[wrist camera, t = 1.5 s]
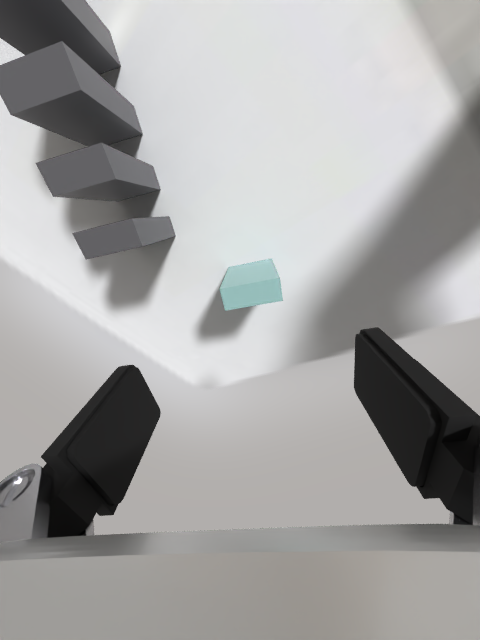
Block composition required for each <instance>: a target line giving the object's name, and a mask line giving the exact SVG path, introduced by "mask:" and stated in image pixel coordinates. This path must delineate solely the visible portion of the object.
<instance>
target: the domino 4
mask: <svg viewBox="0 0 480 640" xmlns="http://www.w3.org/2000/svg"><path fill="white" fill-rule="evenodd" d="M72 234H73V236H74V237H75V239H76V241H77V243H78V245H79V247H80V249H81V251H82V253H83V255H84V257H85V259H90V258H94V257H99V256H103V255H107V254H112V253H116V252H120V251H125V250H129V249H133V248H138V247H142V246H146V245H149V244H152V243H155V242H158V241H161V240H165V239H168V238H171V237H174V236H175V233H174V229H173V226H172V223H171V220H170V217H169V216H168V217H148V218H131V219H127V220H123V221H119V222H115V223H111V224H107V225H103V226H99V227H95V228H91V229H87V230H83V231H79V232H76V233H72Z"/></svg>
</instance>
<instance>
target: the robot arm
mask: <svg viewBox="0 0 480 640" xmlns="http://www.w3.org/2000/svg"><path fill="white" fill-rule="evenodd" d="M354 388H355V392H356V394H357V396H358V398H359V399H360V401H361V403H362V404H363V406H364V408H365V410H366V411H367V413H368V415H369V417H370V418H371V420H372V422H373V423H374V425H375V427H376V428H377V430H378V432H379V434H380V435H381V437H382V439H383V440H384V442H385V444H386V445H387V447H388V449H389V451H390V452H391V454H392V456H393V457H394V459H395V461H396V462H397V464H398V466H399V468H400V469H401V471H402V473H403V474H404V476H405V478H406V479H407V481H408V482H409V484H410V485H411V486H414V487H415V486H417V488H418V490H419V491H420V493H421V494H422V496H423V498H424V499H428V498H440V499H441V501H442V502H443V504H444V505H445V507H446V508H447V509H448V510H450V520H449V524H400V525H398V524H397V525H349V526H318V527H288V528H260V529H233V530H207V531H182V532H159V533H158V532H157V533H136V534H112V535H94V526H93V518H94V516H95V514H96V513H98V514H99V515H100V516H103V515H114V512H115V510H116V508H117V506H118V504H119V503H120V502H121V501H122V500H123V498H124V496H125V494H126V491H127V489H128V487H129V485H130V483H131V480H132V478H133V476H134V474H135V472H136V469H137V467H138V465H139V463H140V460H141V458H142V456H143V454H144V451H145V449H146V447H147V445H148V442H149V440H150V438H151V436H152V433H153V431H154V429H155V427H156V424H157V422H158V420H159V418H160V408H159V406H158V405H157V403H156V401H155V399H154V397H153V395H152V393H151V391H150V389H149V387H148V385H147V383H146V382H145V380H144V378H143V376H142V374H141V372H140V370H139V369H138V368H136V367H135V366H134V365H127V366H121V367H118V368H117V369H116V370H115V371H114V373H113V374H112V375H111V376H110V377H109V378H108V379H107V381H106V382H105V383H104V384H103V385H102V386H101V387H100V389H99V390H98V391H97V392H96V393H95V394H94V396H93V397H92V398H91V399H90V400H89V401H88V403H87V404H86V405H85V406H84V407H83V408H82V409H81V411H80V412H79V413H78V414H77V415H76V416H75V418H74V419H73V420H72V421H71V422H70V423H69V425H68V426H67V427H66V428H65V429H64V430H63V432H62V433H61V434H60V435H59V436H58V437H57V438H56V440H55V441H54V442H53V443H52V444H51V446H50V447H49V448H48V449H47V450H46V451H45V452H44V454H43V455H42V456H41V458H42V459H44V461H45V462H46V463H47V464H46V465H45V466H44V468H42V467H41V466H40V465H38V464H30V465H27V466H24V467H22V468H20V469H18V470H16V471H15V472H13V473H12V474H10V475H9V476H7V477H6V478H5V479H4V480H2V481H1V482H0V640H480V416H479V415H478V414H477V413H476V412H474V411H473V410H472V409H471V408H470V407H469V406H468V405H467V404H465V403H464V402H463V401H462V400H461V399H460V398H459V397H457V396H456V395H455V394H454V393H453V392H452V391H451V390H450V389H448V388H447V387H446V386H445V385H444V384H443V383H442V382H440V381H439V380H438V379H437V378H436V377H435V376H434V375H432V374H431V373H430V372H429V371H428V370H427V369H426V368H425V367H423V366H422V365H421V364H420V363H419V362H418V361H416V360H415V359H413V358H412V357H411V356H410V355H409V354H408V353H407V352H405V351H404V350H403V349H402V348H401V347H400V346H399V345H398V344H396V343H395V342H394V341H393V340H392V339H391V338H390V337H389V336H387V335H386V334H385V333H384V332H383V331H382V330H381V329H379V328H370V329H363V330H361V331H360V334H357V335H356V338H355V370H354Z"/></svg>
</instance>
